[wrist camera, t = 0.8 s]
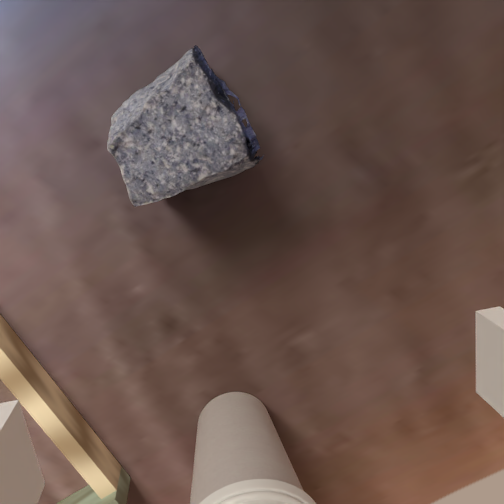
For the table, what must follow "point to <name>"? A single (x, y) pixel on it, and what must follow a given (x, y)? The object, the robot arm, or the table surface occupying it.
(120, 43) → the table surface
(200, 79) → the stone
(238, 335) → the table surface
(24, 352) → the channel
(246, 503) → the coffee cup
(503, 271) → the table surface
